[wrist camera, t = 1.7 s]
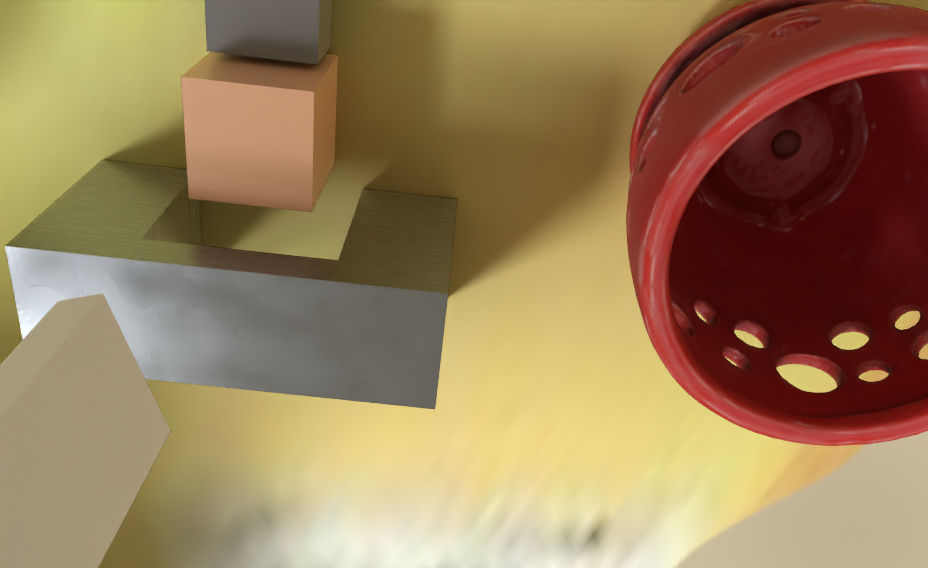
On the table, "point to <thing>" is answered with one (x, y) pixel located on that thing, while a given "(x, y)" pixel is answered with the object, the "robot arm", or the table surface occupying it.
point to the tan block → (259, 130)
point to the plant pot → (789, 215)
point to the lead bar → (270, 28)
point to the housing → (247, 289)
